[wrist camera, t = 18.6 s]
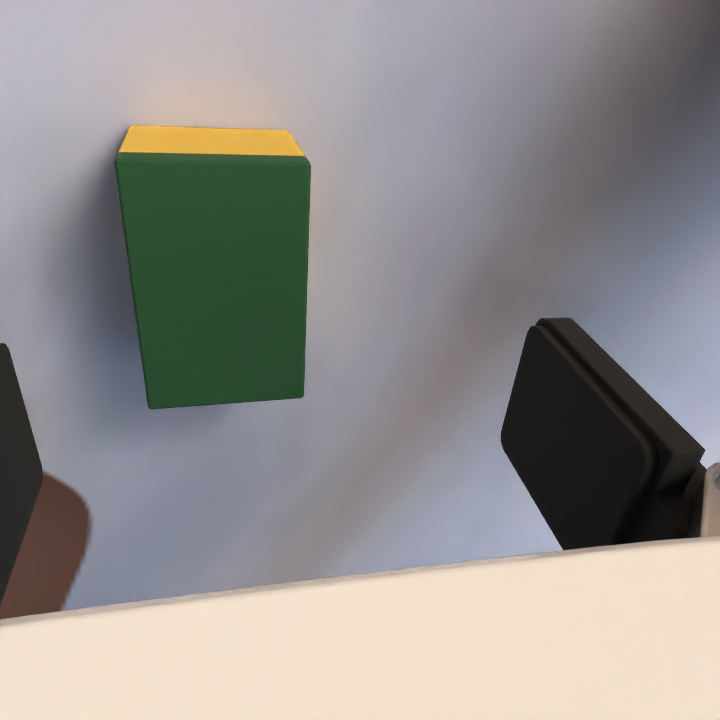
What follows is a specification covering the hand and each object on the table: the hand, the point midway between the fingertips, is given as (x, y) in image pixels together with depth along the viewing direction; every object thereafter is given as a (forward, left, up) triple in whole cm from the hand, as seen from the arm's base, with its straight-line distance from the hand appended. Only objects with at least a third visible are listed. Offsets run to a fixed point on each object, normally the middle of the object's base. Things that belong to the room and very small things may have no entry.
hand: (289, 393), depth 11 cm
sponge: (+1, -1, -10) cm, 10 cm away
